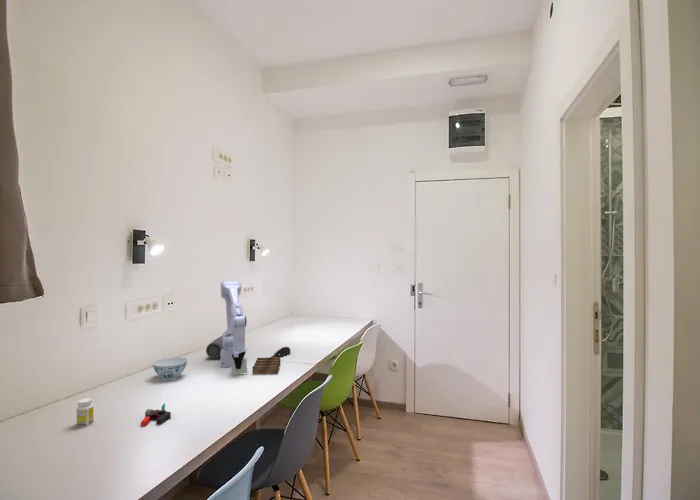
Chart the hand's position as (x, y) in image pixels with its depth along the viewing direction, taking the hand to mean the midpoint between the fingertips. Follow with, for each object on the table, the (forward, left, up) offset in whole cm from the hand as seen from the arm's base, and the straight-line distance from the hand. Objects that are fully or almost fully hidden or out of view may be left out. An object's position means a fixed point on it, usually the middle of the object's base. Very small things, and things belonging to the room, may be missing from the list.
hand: (238, 368), depth 189 cm
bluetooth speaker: (-17, +35, -3) cm, 39 cm away
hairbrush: (+16, +27, -3) cm, 32 cm away
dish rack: (+13, +5, -3) cm, 14 cm away
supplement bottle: (-42, -52, -3) cm, 67 cm away
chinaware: (-31, -4, -3) cm, 31 cm away
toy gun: (-21, -51, -3) cm, 55 cm away
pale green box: (0, 0, -3) cm, 3 cm away
